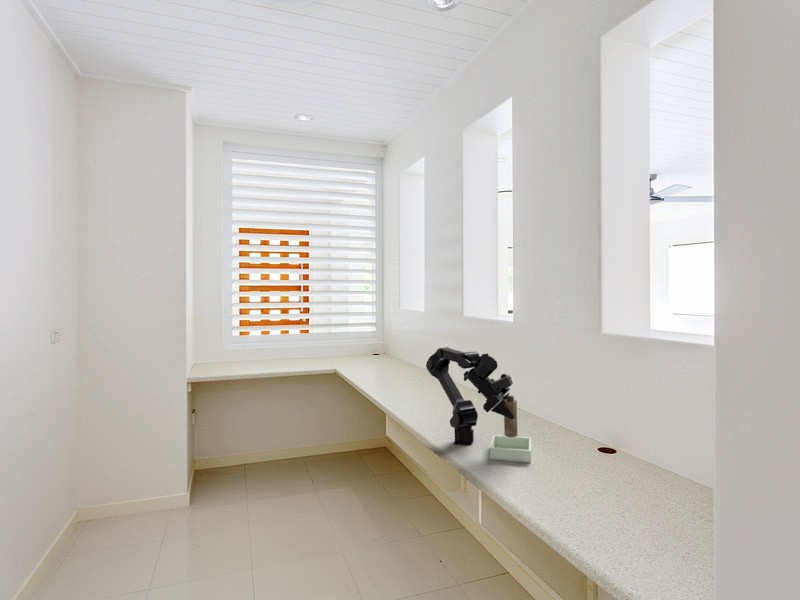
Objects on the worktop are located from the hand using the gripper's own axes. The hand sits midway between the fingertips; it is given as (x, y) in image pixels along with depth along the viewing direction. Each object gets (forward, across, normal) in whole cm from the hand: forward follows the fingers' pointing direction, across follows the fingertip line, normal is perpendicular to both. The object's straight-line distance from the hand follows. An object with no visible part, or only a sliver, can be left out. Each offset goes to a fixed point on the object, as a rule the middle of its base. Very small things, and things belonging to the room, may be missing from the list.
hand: (514, 416), depth 157 cm
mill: (+4, 0, +6) cm, 7 cm away
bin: (+8, 0, +10) cm, 13 cm away
